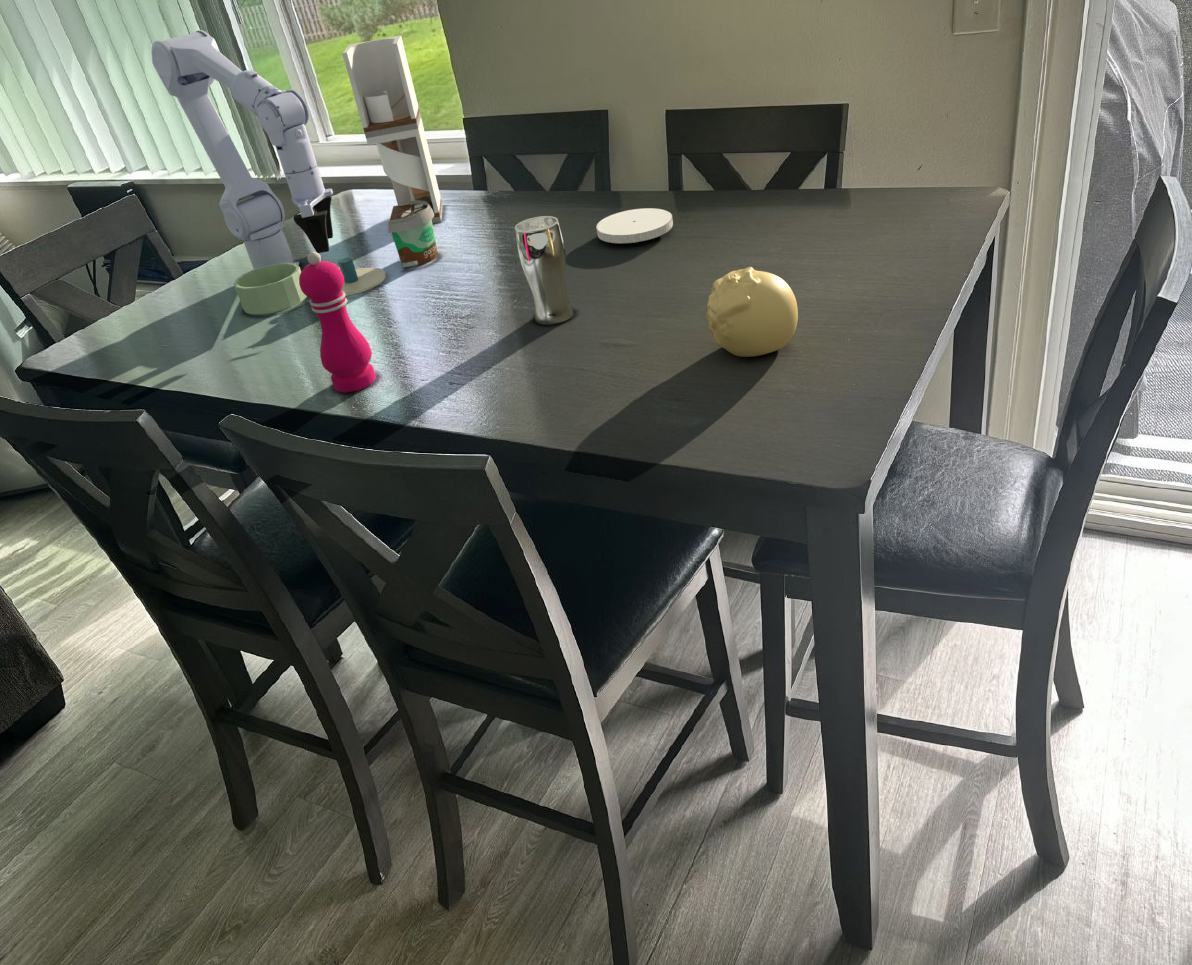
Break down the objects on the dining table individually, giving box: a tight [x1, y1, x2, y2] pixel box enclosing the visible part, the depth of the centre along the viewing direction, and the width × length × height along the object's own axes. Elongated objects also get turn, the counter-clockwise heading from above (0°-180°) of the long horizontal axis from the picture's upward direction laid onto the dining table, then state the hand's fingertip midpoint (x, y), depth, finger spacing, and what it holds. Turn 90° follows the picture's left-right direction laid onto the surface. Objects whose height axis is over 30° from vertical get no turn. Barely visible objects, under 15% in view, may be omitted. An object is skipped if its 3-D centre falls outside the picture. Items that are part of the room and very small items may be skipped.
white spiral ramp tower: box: [341, 34, 444, 225], centre depth 192 cm, size 11×11×35 cm
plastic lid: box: [596, 207, 674, 244], centre depth 171 cm, size 14×14×2 cm
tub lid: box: [337, 257, 387, 297], centre depth 171 cm, size 13×13×5 cm
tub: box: [233, 263, 308, 315], centre depth 169 cm, size 12×12×6 cm
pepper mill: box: [299, 251, 377, 393], centre depth 132 cm, size 7×7×20 cm
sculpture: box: [706, 266, 799, 358], centre depth 124 cm, size 11×12×11 cm
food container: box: [387, 200, 438, 269], centre depth 175 cm, size 12×6×10 cm, turn 168°
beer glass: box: [514, 215, 574, 326], centre depth 142 cm, size 7×7×15 cm
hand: (325, 245), depth 167 cm, fingers open, 7 cm apart
